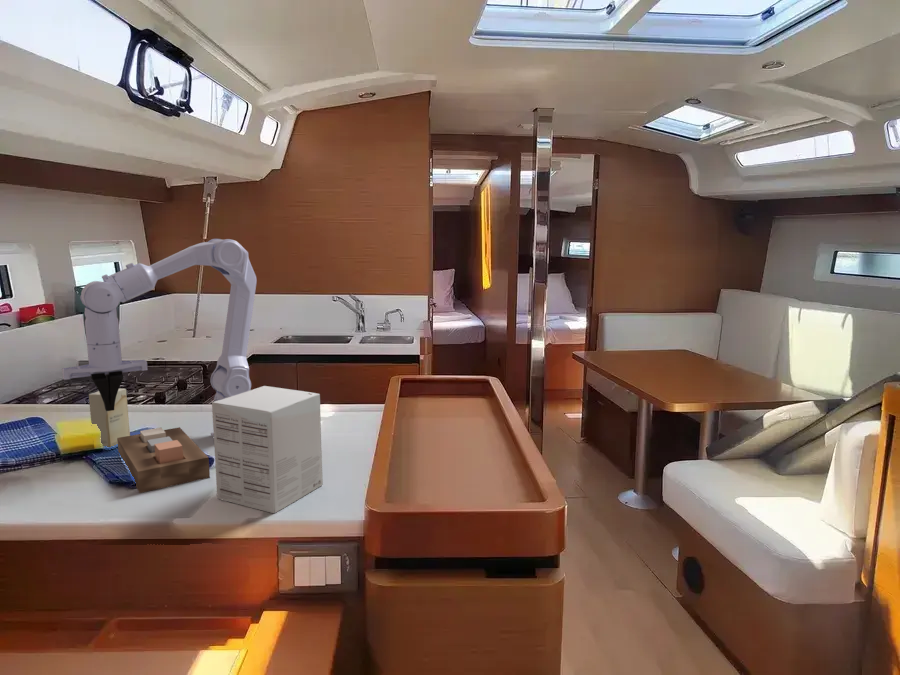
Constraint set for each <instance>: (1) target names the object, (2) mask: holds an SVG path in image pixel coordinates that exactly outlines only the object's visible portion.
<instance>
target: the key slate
mask: <svg viewBox="0 0 900 675" xmlns="http://www.w3.org/2000/svg"><path fill="white" fill-rule="evenodd" d="M169 441H173V440H172V439H171V438H170V437H169V436H168V437H162V438H157V439H151V440H147V445H148V451H149V452H150V453H154V452H155V446H154V444H158V443H163V442H169Z"/></svg>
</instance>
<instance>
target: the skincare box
mask: <svg viewBox="0 0 900 675" xmlns="http://www.w3.org/2000/svg"><path fill="white" fill-rule="evenodd" d="M88 401H89V403H88V404H89V411H90V412H89V414H90V423H92V424H97V426H98V428H99V429H100V431H101V443H102V444H103V446H107V447H111V446H114V445H116V444H118V442H117V438H120V437H126V436H131V431H130V420H129V419H130V418H129V410H128V409H129V407H128V397H127V388H121V387H119V389H118V392H117V396H116V400H115V406H114V410H112V411H106V410H105V406H104V402H103V399H102V397H101V395H100V392H99V390H98V391H96V392H93V393H88Z"/></svg>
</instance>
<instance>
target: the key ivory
mask: <svg viewBox="0 0 900 675" xmlns="http://www.w3.org/2000/svg"><path fill="white" fill-rule="evenodd" d="M164 430H165V429H163V428H162V427H156V428H150V429H143V430H140V431H139V432H140V433H139V434H140V435H141V441H142V443H146V442H147V440H151V439H157V438H162V437H166V432H165V431H164Z"/></svg>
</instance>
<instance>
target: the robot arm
mask: <svg viewBox="0 0 900 675" xmlns="http://www.w3.org/2000/svg"><path fill="white" fill-rule="evenodd" d="M193 266H210V267H211V268H213V269H215V270H217V272H220V273H221V274H222V276H224V278H225V279H226V280H227V281H228V283H229V284H230V291H229V298H228V304H227V305H228V306H227V311H226V312H227V315H226V321H225V329H224V334H223V335H224V336H223V343H222V352H221V354H220V356H219V357H218V360H217V361H216V366H215V369H214V370H213V372H212V373H211V376H210V384H211V387H212V388H213V390H215V392H216V393H215V394H214V396H213V399H214V401H213V402H215V401H218V400H222V399H225V398H228V397H231V396H234V395H238V394H241V393H244V392H247V391H250V390H252V389H251V388H252V381H251V379H250V367H249V363H248V359H247V353H248V346H249V340H250V334H251V333H250V332H251V331H250V330H251V327H252V326H251V325H252V318H253V309H254V303H255V297H256V296H255V295H256V288H257V282H258V281H257V275H256V273H255V271H254V268H253V266H252V264H251V261H250V258H249V251H248V250H246V249H245V247H243V246H242V244H241V243H239V242H238V241H237V240H234V239H230V238H226V239H221V238H212V239H210V240H208V241H205V242H204V241H203V242H200V243H196V244H194V245H190V246H188V247H187V248H186V247H185V249H183V250H180V251H178V252H176V253H173V254H171V255H169V256H167V257H165V258H163V259H161V260H159V261H156V262H155V263H152V264H150V265H146V264H144V263H141V262H139V263H136V264H134V263H133V262H130V263H127V264H126V265H125V267H126V268H124V269H121V270H120V271H117V272H115V273H113V274H109V275H108V274H104V275H102V276H101V279H102V281H100V280H94V281H91V282H88V283H87V284H85V285H84V287H83V288H82V290H81V293H80V294H81V295H79V299H80V301H81V303H82V305H83V306H85V307H84V317H85V319H84V327H85V337H86V347H87V349H86V350H87V358H88V359H87V360H88V364H84V365H83V364H82V365H77V366H70V367H62V369H61V370H62V378H63V380H64V381H65V380H71V379H78V378H85V377H86V378H87V377H90V379H91V380H92V382H93V384H94V385H95V387H96V388H97V390H98V391H99V392H100V395H101V397H102V399H103V402H104V406H105V410H106V411H112V410H114V406H115V400H116V396H117V392H118V389H119V388H121V387H120V386H121V385H122V383H123V380H124V374H123V373H130V372H138V371H142V372H144V371H148V361H147V360H146V359H136V360H122V346H121V336H120V335H121V334H120V326H119V324H120V323H119V318H118V313H117V307H118V306H119V304H120V303H126V302H127V301H130V300H132V299H134V298H136V297H139V296H141V295H143V294H145V293H148V292H150V291H152V290H154V289H155V287H156V284H157V282H158V280H161V279H164V278H165V277H169V276H171V275H173V274H175V273H178V272H180V271H183V270H185V269H188V268H191V267H193ZM210 435H211V437H213V438H214V431H212V432H210Z"/></svg>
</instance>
